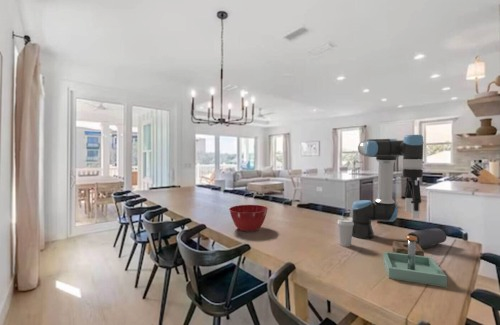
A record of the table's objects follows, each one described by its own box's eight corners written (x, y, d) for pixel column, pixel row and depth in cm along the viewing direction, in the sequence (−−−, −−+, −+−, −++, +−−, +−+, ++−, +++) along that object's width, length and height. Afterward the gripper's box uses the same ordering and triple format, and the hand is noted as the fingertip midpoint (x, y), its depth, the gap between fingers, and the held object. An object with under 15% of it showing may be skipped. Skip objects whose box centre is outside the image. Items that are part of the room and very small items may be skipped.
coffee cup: (353, 243, 156) (353, 218, 156) (354, 248, 147) (354, 222, 147) (336, 241, 159) (337, 217, 159) (336, 246, 150) (337, 221, 150)
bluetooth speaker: (431, 241, 159) (431, 225, 159) (447, 246, 150) (447, 229, 150) (405, 246, 151) (405, 229, 151) (420, 251, 142) (421, 234, 142)
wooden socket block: (396, 259, 131) (396, 248, 131) (392, 251, 142) (392, 241, 142) (423, 263, 127) (424, 251, 126) (417, 254, 138) (418, 243, 138)
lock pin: (407, 270, 116) (407, 237, 116) (405, 266, 120) (405, 235, 120) (417, 271, 115) (417, 238, 114) (415, 268, 118) (415, 236, 118)
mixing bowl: (222, 232, 178) (222, 210, 178) (239, 222, 205) (239, 203, 204) (260, 237, 168) (260, 213, 167) (272, 225, 194) (272, 205, 194)
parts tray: (388, 278, 111) (388, 268, 111) (382, 259, 131) (383, 251, 131) (446, 287, 104) (446, 276, 104) (431, 266, 123) (431, 257, 123)
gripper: (430, 170, 103) (429, 222, 104) (415, 167, 126) (414, 209, 127) (409, 169, 106) (408, 220, 107) (398, 167, 129) (397, 208, 130)
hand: (411, 214), depth 117 cm, fingers open, 13 cm apart
